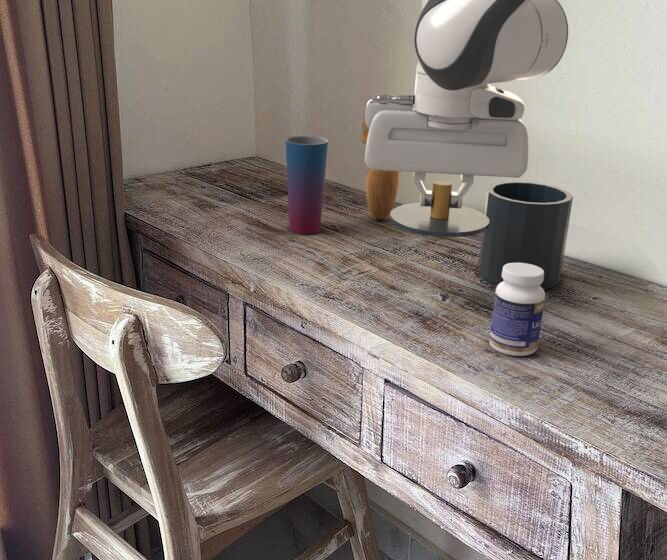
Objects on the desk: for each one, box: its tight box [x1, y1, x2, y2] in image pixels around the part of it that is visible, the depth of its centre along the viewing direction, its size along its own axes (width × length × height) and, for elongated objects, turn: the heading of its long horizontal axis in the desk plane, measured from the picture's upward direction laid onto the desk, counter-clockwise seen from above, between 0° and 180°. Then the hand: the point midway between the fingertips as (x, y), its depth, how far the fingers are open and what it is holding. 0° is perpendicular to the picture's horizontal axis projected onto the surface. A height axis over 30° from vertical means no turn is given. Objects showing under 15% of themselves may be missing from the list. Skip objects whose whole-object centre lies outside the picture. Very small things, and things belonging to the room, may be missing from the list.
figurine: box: [360, 116, 400, 220], centre depth 137 cm, size 9×7×20 cm
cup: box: [284, 135, 329, 236], centre depth 132 cm, size 7×7×15 cm
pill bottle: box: [488, 263, 546, 357], centre depth 95 cm, size 6×6×10 cm
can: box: [478, 180, 574, 290], centre depth 116 cm, size 12×12×12 cm
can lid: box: [389, 180, 490, 238], centre depth 104 cm, size 13×13×6 cm
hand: (440, 206), depth 104 cm, fingers closed on can lid, 2 cm apart
